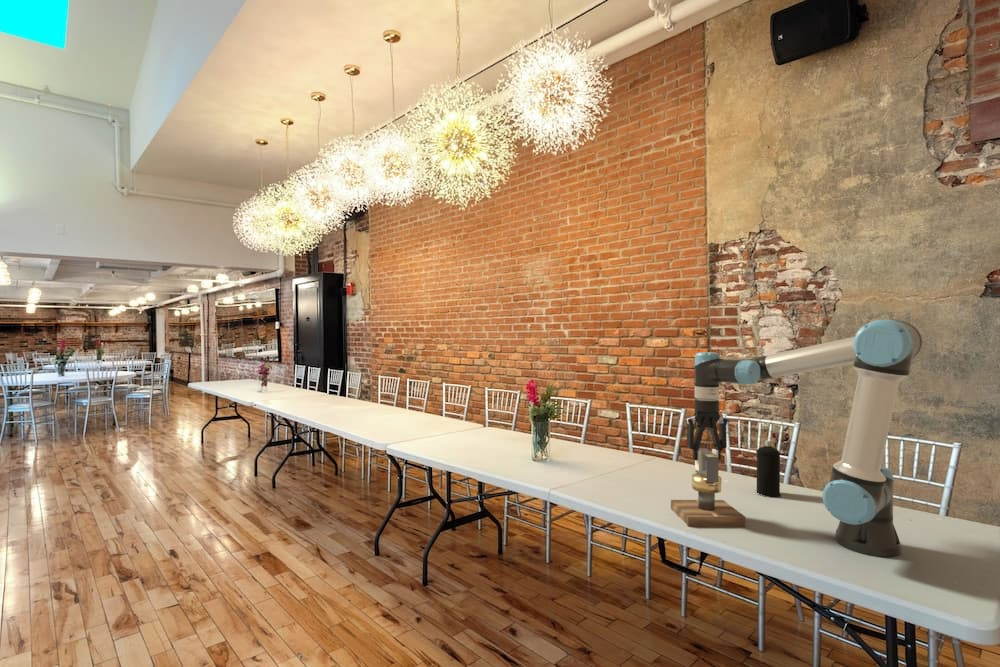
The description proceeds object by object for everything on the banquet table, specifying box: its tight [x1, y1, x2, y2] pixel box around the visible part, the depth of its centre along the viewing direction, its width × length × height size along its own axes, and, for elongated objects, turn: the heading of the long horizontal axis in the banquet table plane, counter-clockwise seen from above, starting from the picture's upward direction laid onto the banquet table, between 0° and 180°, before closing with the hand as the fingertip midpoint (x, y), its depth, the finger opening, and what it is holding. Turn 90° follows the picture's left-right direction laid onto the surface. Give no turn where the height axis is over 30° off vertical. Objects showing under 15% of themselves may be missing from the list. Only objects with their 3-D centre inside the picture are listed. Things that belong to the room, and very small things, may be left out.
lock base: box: [670, 491, 747, 527], centre depth 167 cm, size 16×18×9 cm
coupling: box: [691, 447, 722, 494], centre depth 167 cm, size 9×12×12 cm
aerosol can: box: [755, 439, 781, 498], centre depth 191 cm, size 8×8×20 cm
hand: (706, 469), depth 167 cm, fingers open, 5 cm apart
